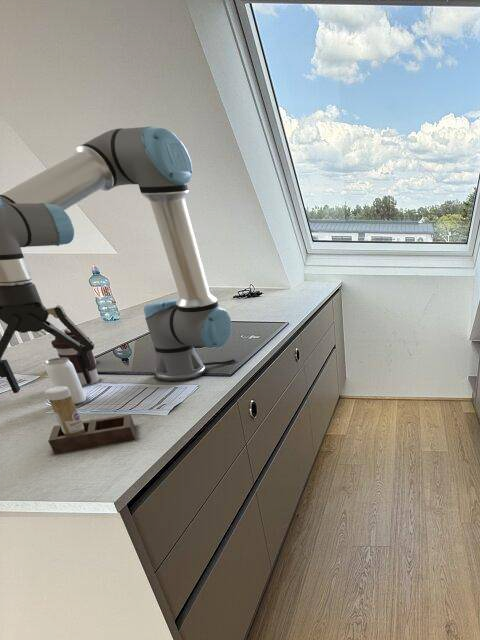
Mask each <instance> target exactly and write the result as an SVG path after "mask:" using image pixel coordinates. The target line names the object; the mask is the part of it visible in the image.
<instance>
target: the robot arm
mask: <svg viewBox="0 0 480 640" xmlns="http://www.w3.org/2000/svg"><path fill="white" fill-rule="evenodd" d="M192 173H193V164H192V160H191V157H190V155H189V153H188V150H187V148H186V146H185V144H184V143H183V142H182V140H181V139H180V138H178V136H177V135H176V134H175V133H174V132H173V131H171V130H170V129H168V128H165V127H163V126H161V127H160V126H152V125H150V126H139V127H128V128H127V127H126V128H124V127H123V128H122V127H121V128H120V127H119V128H114V129H110V130H108V131H105V132H102V133H101V134H99V135H98V136H95V137H93V138H92V139H90V140H88V141H86V142H84V143H83V144H80V145H79V146H77V147H76V148H75V150H74V154H73V155H72V156H70V157H68V158H66V159H64V160H62V161H60V162H58V163H57V164H54V165H53V166H51V167H49V168H47V169H44V170H43V171H41V172H39V173H37V174H35V175H34V176H31V177H29V178H27V179H25V180H24V181H22V182H19V183H18V184H15V185H14V186H12V187H10V188H8V189H6V190H4V191H2V192H0V321H2V322H3V323H4V324H6V325H7V326H6V328H5V330H4V332H3V335H1V338H0V378H1V379H3V378H6V380H7V383H8V384H9V387H10V388H11V391H12V392H13V393H12V394H18V393H19V392H20V390H21V388H20V385H19V383H18V381H17V378H16V376H15V375H14V372H13V370H12V368H11V366H10V364H9V362H8V359H2V358H3V356H4V354H5V352H6V350H7V348H8V346H9V344H10V342H11V341H12V338H13V336H14V335H15V333H16V332H18V333H20V334H26V333H28V332H33V333H39V332H41V331H42V330H43V331H44V332H46V333H48V334H50V335H52V336H53V337H54V338H55V337H56V338H58V339H59V340H61V341H62V342H64V343H65V344H67V345H68V346H70V347H71V348H73V349H74V350H76V351H77V354H76V356H77V359H78V362H79V364H80V367H81V369H82V372H83V375H84V377H85V380H86V383H87V384H90V385H92V384H91V381H92V380H91V377H90V374H89V371H88V369H87V368H91V362H90V359H89V356H88V353H87V352H88V351H90V350H92V351H93V350H94V349H95V343H94V342H93V341H92V340H91V339H90V337H89V336H87V335H86V334H85V333H84V332H83V331H82V330H81V329H80V327H78V326H77V325H76V324H75V323H74V321H72V319H70V318H69V316H68V315H67V313H66V312H65V310H64V308H63V306H61V305H56V306H53V307H48V308H46V307H45V306H44V304H43V301H42V299H41V297H40V294H39V292H38V290H37V287H36V284H34V282H31V280H33V276H32V274H31V271H30V268H29V267H28V263H27V262H26V259H25V256H24V254H23V251H22V249H21V248H31V247H50V246H51V247H52V246H54V247H55V246H56V247H59V246H61V245H62V246H63V245H68V244H70V243H71V242H73V240H74V237H75V229H74V225H73V223H72V222H73V221H72V220H71V218H70V216H69V214H68V213H67V212H66V210H68V209H69V208H71V207H72V206H75V205H76V204H77V203H79V202H81V201H83V200H84V199H86V198H88V197H90V196H91V195H93V194H94V193H96V192H98V191H100V190H101V191H104V192H105V191H106V192H107V191H110V190H112V189H113V188H116V187H120V186H125V185H137V186H138V188H139V190H140V191H139V192H140V194H141V195H142V196H143V197H144V198H145V199H147V200H148V201H149V202H150V206H151V209H152V212H153V215H154V219H155V221H156V225H157V228H158V231H159V235H160V238H161V242H162V245H163V248H164V251H165V255H166V258H167V260H168V263H169V266H170V270H171V271H170V272H171V275H172V277H173V281H174V283H175V287H176V289H177V293H178V298H174V299H167V300H161V301H156V302H150V303H147V304H146V305H145V306H144V307H143V312H144V320H145V322H146V325H147V329H148V331H149V335H150V339H151V341H152V345H153V348H154V351H155V365H154V373H155V376H156V379H158V380H160V381H164V382H182V381H187V380H188V381H189V380H193V379H197V378H199V377H201V376H204V375H205V373H206V367H205V366H212V365H224V364H225V365H226V364H230V363H233V362H236V360H235V359H234V358H233V359H229V360H223V361H209V362H203V361H202V360H201V357H200V356H199V354H198V353H197V351H196V349H195V346H196V347H204V348H220V347H223V346H224V345H225V344H226V343H228V341H229V339H230V336H231V334H232V320H231V316H230V314H229V312H228V311H227V310H225V309H224V308H222V307H220V305H219V302H218V298H217V297H216V296H214V295H213V294H211V292H210V288H209V285H208V281H207V277H206V274H205V270H204V266H203V263H202V259H201V256H200V251H199V247H198V244H197V239H196V237H195V233H194V229H193V228H194V227H193V226H192V220H191V218H190V214H189V210H188V206H187V203H186V198H187V196H188V194H189V187H188V183H189V182H191V179H192ZM50 315H51V316H53V318H55V319H58V320H59V321H60V323H62V324H63V325H64V327H66V329H67V330H68V331H69V332H70V331H71V332H72V333H73V334H74V335H75V336H76V337H77V338H78V339H79V340H80V341H81V342H82V343H83V344H84V346H83V345H81V344H80V343H78V342H77V341H75V340H74V339H72V338H71V337H69V336H68V335H66V334H65V332H64V331H62V330H61V329H59V328H58V327H56V326H55V325H54V324H53V323H51V322H49V321H48V319H49V316H50ZM88 337H89V338H88Z"/></svg>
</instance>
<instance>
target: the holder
mask: <svg viewBox="0 0 480 640" xmlns="http://www.w3.org/2000/svg"><path fill="white" fill-rule="evenodd" d="M82 423H83V426H84V429H85V431H86V432H84V433H78V434H72V435H66V436H65V435H64V433H63V432H62V429H61V427H60V425H59V424H58V425H53V426H52V429H51V432H50V435H49V437H48V444H49V446H50V448H51V450H52V453H53V454H54V455H58V454H64V453H71V452H76V451H81V450H88V449H92V448H94V449H95V448H99V447H105V446H109V445H116V444H121V443H126V442H132V441H135V440H136V426H135V423H134V420H133V417H132V414H131V413H129V414H122V415H115V416H109V417H101V418H97V419H96V418H95V419H90V420H82Z"/></svg>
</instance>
